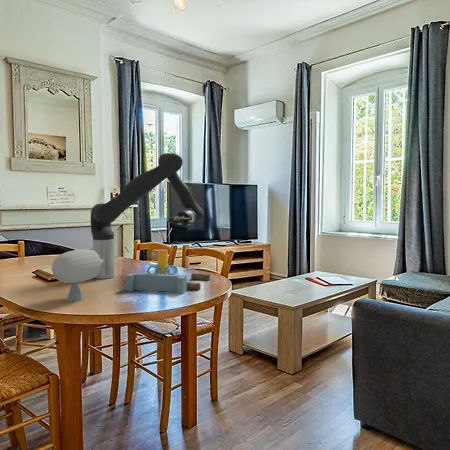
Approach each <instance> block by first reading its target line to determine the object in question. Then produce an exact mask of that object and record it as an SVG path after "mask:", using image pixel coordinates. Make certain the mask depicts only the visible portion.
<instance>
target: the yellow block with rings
mask: <svg viewBox="0 0 450 450" xmlns="http://www.w3.org/2000/svg"><path fill="white" fill-rule="evenodd" d="M168 253H169V252H168V249H166V248H164V249H163V248H160V249H157V263H156V264H155V265H150V266H148V267H147V272H146V273H147V274H152V273H151V272H150V269H151V268H154V272H153V274H167V275H177V273H178V267H177V266H176V265H174V264H171V265H170V264H169V263H168ZM171 268H174V270H175V271H174V272H173V273H172V272H171Z"/></svg>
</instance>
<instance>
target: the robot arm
mask: <svg viewBox="0 0 450 450" xmlns="http://www.w3.org/2000/svg"><path fill="white" fill-rule="evenodd" d="M183 163H184V162H183V158H182V156H181V155H179V154H177V153H174V152H170V153H169V152H168V153H166V152H165V153H162V154H161V155H160V156H159V157H158V165H157V166H155V167H154V168H152V169H149V170H147V171H144V172H142V173H140V174H139V175H137V176H136V177H134V178H132V179H131V180H130V181H128V183H127V184H126V185H125V186H124V187H123V188H122V190H121V191H120V192H119V194H117V196H115V197H113V198H112V199H110V200H109V201H107V202H105V203H97V204H94V205H93V206H92V208H91V210H90V231H91V236H92V250H94V251H95V252H96V253H97V254H98V255H99V257H100V258H101V259H102V260H103V262H102V264H101V270H100V273H99V274H98V275H97V276H96V277H94V278H93V279H99V280H100V279H101V280H102V279H111V278H114V277H115V233H114V231H113V230H112V223H114V222H115V220H117V219H118V218H119V216H120V215H122V214H123V212H125V211H126V210H127V209H128V208H130V207H131V206H132V205H134V204H135V203H137V202H139V200H141V199H142V198H143V197H145V196H146V195H147V194H149V193H150V192H151V191H152V190H154V189H155V188H156V187H158V185H160V184H161V183H162V182H163V181H164V180H166V179H167V180H168V182H169V183H170V185H171V186H172V189H173V190H174V191H175V194H176V195H177V197H178V200H179V201H180V205H181V206H182V207H183V208H184V210H182V211H179V212H177V213H176V215H175V216H167V217H166V219H167V220H166V222H167V223H168V224H171V225H177V226H178V227H182V228H185V227H187V226H190V225H192V224H193V223H195V222H200V221H202V220H204V218H205V212H204V210H203V209H202V207H201V206H200V205H199V204H198V203H197V202H196V200H195V199H194V198H195V197H194V196H193V194H192V191H191V190H190V188H189V187H188V185H186V183H185V182H184V181H183V179H182V178H181V177H180V175H179V173H178V171H180V170H181V168H182V167H183ZM185 209H187V210H185Z"/></svg>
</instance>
